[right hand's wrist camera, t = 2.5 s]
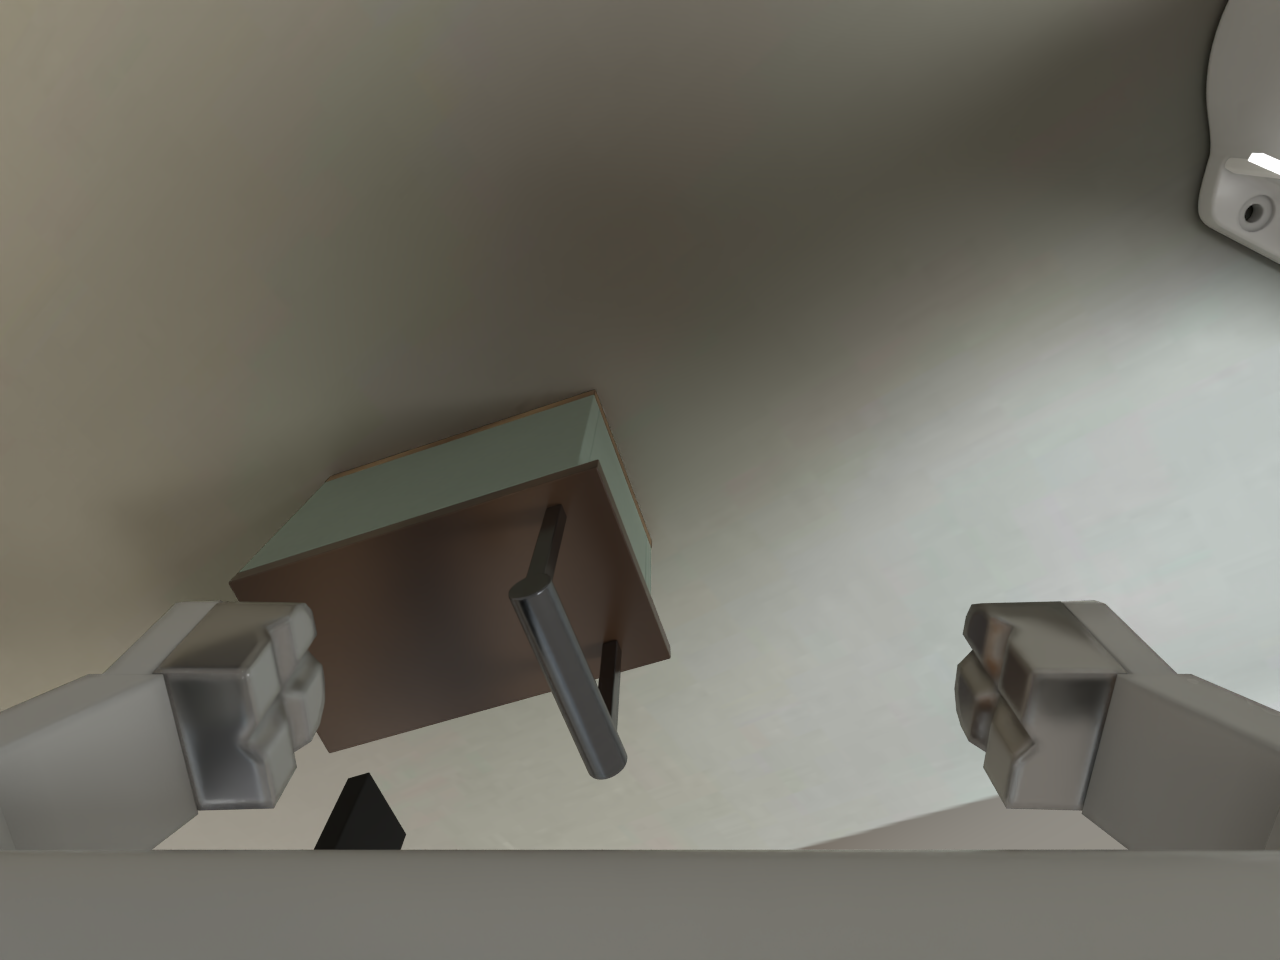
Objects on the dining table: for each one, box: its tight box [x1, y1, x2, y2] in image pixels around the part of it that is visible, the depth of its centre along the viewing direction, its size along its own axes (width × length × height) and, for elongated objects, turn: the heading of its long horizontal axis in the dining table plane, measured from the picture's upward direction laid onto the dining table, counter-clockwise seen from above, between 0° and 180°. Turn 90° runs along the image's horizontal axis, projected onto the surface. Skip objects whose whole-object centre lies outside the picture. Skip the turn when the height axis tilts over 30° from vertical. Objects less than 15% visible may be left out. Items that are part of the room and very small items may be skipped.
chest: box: [239, 390, 652, 595], centre depth 42 cm, size 16×10×11 cm, turn 109°
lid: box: [229, 459, 671, 779], centre depth 33 cm, size 17×10×9 cm, turn 109°
